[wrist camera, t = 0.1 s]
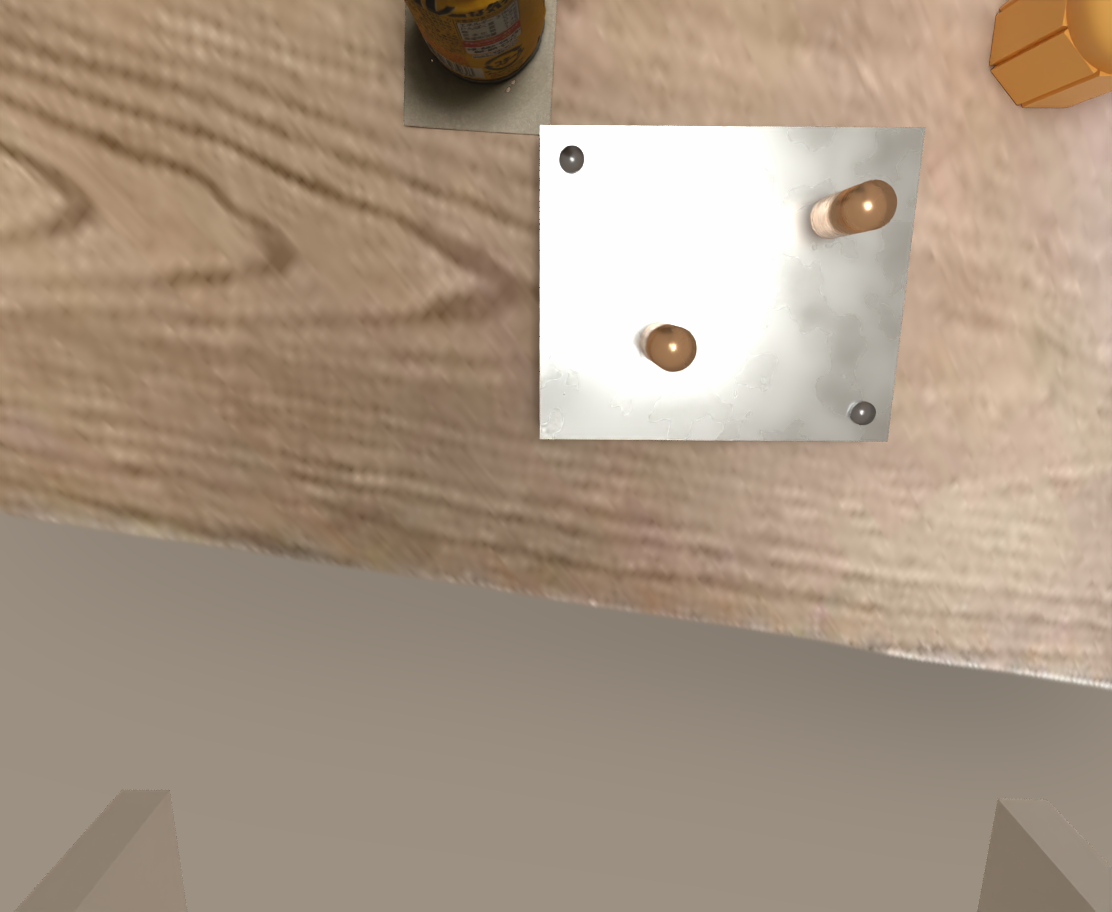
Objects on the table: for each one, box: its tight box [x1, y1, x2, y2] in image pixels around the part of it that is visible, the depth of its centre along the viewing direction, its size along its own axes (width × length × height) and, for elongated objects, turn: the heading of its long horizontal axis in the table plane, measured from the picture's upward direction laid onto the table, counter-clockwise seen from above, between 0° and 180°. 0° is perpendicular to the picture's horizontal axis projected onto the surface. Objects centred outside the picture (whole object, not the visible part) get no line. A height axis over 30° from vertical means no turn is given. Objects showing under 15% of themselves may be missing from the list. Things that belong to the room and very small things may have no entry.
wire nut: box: [989, 0, 1112, 108], centre depth 30 cm, size 6×6×7 cm
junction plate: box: [540, 125, 925, 442], centre depth 33 cm, size 15×18×7 cm
